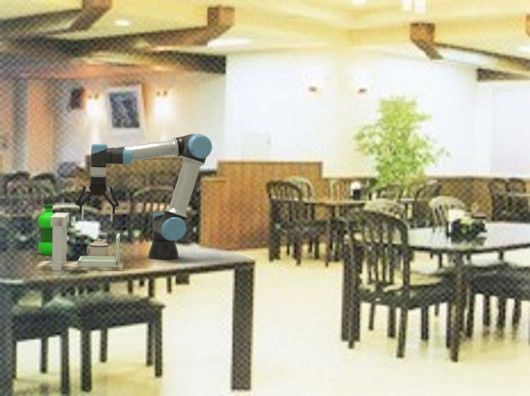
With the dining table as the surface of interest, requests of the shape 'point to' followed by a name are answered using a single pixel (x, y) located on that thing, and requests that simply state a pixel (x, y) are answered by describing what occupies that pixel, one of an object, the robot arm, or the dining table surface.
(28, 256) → the dining table surface
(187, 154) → the robot arm
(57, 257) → the press frame
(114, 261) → the press carriage
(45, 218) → the plastic bottle
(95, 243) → the teacup with lid
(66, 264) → the press track
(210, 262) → the dining table surface
